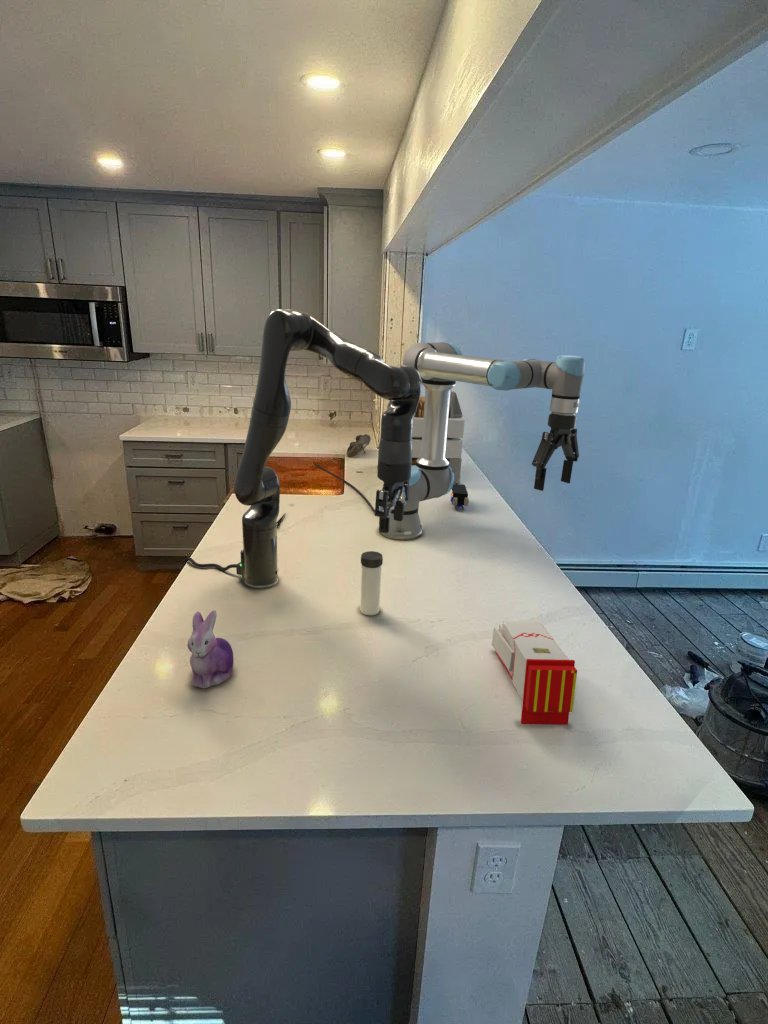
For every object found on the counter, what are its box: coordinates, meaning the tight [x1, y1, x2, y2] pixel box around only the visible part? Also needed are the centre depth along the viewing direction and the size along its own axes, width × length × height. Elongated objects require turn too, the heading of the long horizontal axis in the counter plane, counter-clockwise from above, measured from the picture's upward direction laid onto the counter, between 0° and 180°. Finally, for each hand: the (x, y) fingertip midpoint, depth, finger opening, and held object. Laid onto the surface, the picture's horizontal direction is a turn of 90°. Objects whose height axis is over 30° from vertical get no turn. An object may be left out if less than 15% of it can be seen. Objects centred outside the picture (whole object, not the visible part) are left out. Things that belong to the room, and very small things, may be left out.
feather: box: [276, 513, 286, 529], centre depth 210 cm, size 2×28×2 cm
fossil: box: [346, 433, 372, 458], centre depth 305 cm, size 22×10×15 cm
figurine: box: [187, 609, 234, 689], centre depth 117 cm, size 9×10×15 cm
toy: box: [491, 621, 578, 726], centre depth 121 cm, size 12×13×30 cm
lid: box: [360, 550, 384, 568], centre depth 144 cm, size 6×6×2 cm
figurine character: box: [449, 483, 470, 511], centre depth 230 cm, size 7×8×15 cm
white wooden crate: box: [386, 390, 465, 484], centre depth 268 cm, size 34×33×41 cm
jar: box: [359, 564, 382, 616], centre depth 146 cm, size 5×5×15 cm
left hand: (391, 526), depth 131 cm, fingers open, 8 cm apart
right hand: (552, 485), depth 166 cm, fingers open, 13 cm apart
